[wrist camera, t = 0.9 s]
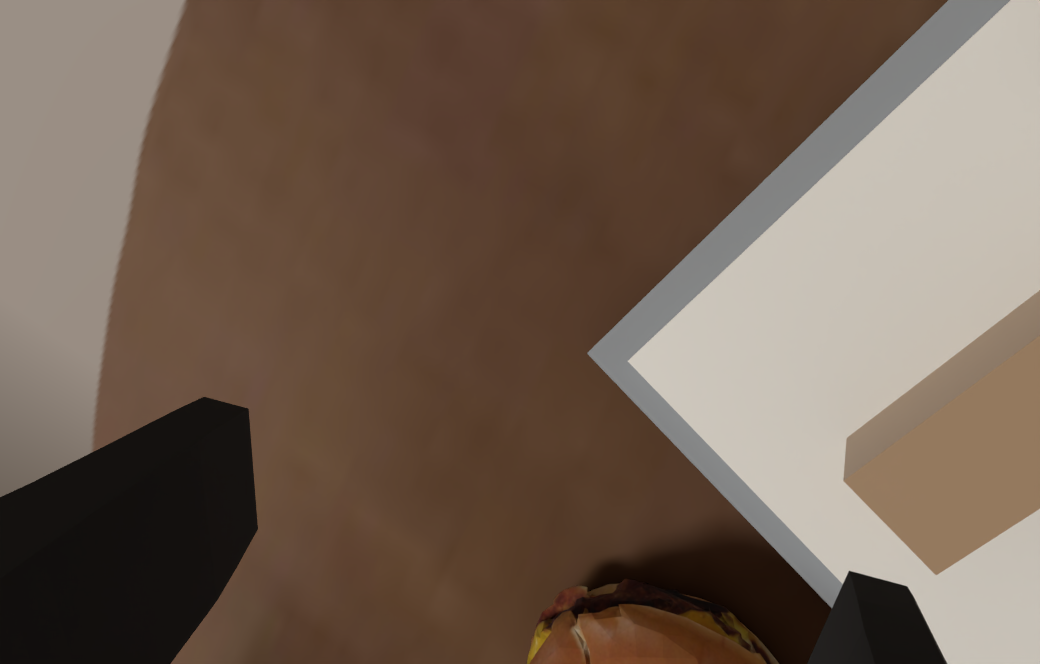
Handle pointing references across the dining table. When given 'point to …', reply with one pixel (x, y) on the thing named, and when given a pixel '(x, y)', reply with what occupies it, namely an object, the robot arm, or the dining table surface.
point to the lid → (897, 352)
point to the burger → (641, 629)
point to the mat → (747, 222)
